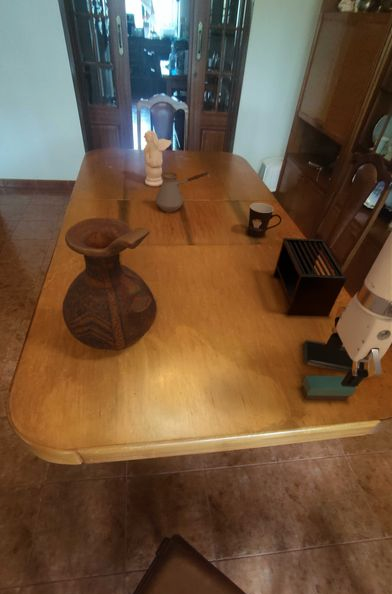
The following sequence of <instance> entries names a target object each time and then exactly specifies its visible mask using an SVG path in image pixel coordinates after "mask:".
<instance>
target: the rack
mask: <svg viewBox="0 0 392 594" xmlns="http://www.w3.org/2000/svg"><path fill="white" fill-rule="evenodd" d="M323 255H324V256H323ZM319 256H320V258H319ZM325 258H326V259H325ZM320 259H321V260H320ZM326 260H327V261H326ZM322 262H323V263H322ZM327 262H328V263H327ZM323 264H324V265H323ZM328 264H329V265H330V266H329V265H328ZM319 266H320V267H319ZM325 267H326V268H325ZM330 267H331V268H330ZM320 268H321V269H320ZM326 269H327V270H326ZM331 269H332V270H331ZM321 270H322V271H323V273H324V274H323V273H322V271H321ZM327 271H328V272H329V274H328V272H327ZM272 276H273V278H280V280H281V282H282V285H283V288H284V290H285V293H286V296H287V299H288V302H289V305H288V308H287V310H286V315H287V316H298V317H299V316H300V317H329V316H330V314H331V312H332V310H333V308H334V306H335V304H336V302H337V299H338V297H339V295H340V293H341V291H342V290H343V288H344V285H345V283H346V282H347V279H348V278H347V276H346V275H345V273H344V272H343V271H342V269H341V267H340V265H339V264H338V262H337V261H336V259H335V258H334V256H333V255H332V253H331V252H330V250H329V248H328V246H327V245H326V242H325V241H324V239H315V238H296V237H295V238H293V237H283V240H282V243H281V246H280V249H279V253H278V257H277V261H276V264H275V268H274V271H273V274H272Z"/></svg>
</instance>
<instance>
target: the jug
mask: <svg viewBox="0 0 392 594" xmlns="http://www.w3.org/2000/svg"><path fill="white" fill-rule="evenodd" d="M149 235H150V230H149V229H148V228H147V227H139V228H135V229H132V228H131V227H130V225H128V224H127V222H124V221H122V220H119V219H116V218H111V217H91V218H86V219H82V220H80V221H78V222H76V223H75V224H73V225H71V226H70V227H69V228H68V229H66V232H65V235H64V241H65V243H66V246H67V247H68V248H69V249H70V250H71V251H73V252H75V253H76V254H80V255H82V256H83V258H84V263H85V264H84V265H85V267H84V269H83V270H82V271H81V272H79V274H78V275H77V276H75V278H74V279H73V280H72V282H71V283H70V285H69V287H68V288H67V291H66V293H65V295H64V298H63V301H62V310H61V312H62V317H63V322H64V323H65V325H66V327H67V329H68V331H69V332H70V334H71V335H72V336H73V338H75V339H76V340H78V341H79V342H80V343H82V344H84V345H85V346H87V347H89V348H92V349H97V350H102V351H103V350H104V351H116V350H122V349H125V348H127V347H130V346H132V345H133V344H134V343H136V342H137V341H139V340H140V339H141V338H142V337H143V336H144V335H146V334H147V332H148V331H149V330H150V329H151V327H152V325H153V324H154V322H155V320H156V317H157V311H158V308H157V307H158V306H157V302H156V300H155V297H154V294H153V292H152V290H151V289H150V286H148V284H147V283H146V282H145V281H144V279H143V278H142V277H141V276H140V275H139V274H138V273H137V272H136V271H134V270H133V269H131V268H130V267H128V266H127V265H124V264H121V261H120V257H121V256H120V255H121V253H122V252H123V251H125V250H127V249H129V250H134V249H136V248H137V247H139V245H140V244H141V243H142V241H144V240H145V238H146V237H148V236H149Z"/></svg>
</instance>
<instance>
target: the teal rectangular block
mask: <svg viewBox="0 0 392 594" xmlns="http://www.w3.org/2000/svg"><path fill="white" fill-rule="evenodd" d="M345 376H346V375H315V374H314V375H310V374H309V375H305V377H304V379H303V380H302V387H301V391H302V394H303V397H304V400H305V401H347V400H348V399H349V397H352V396H353V395H354V393H355V392H356V391H357V387H345V386H342V385H341V382H342V381H343V379H344V378H345Z"/></svg>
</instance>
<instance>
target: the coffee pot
mask: <svg viewBox="0 0 392 594" xmlns="http://www.w3.org/2000/svg"><path fill="white" fill-rule="evenodd" d="M204 176H207V177H208V179H210V174H209V172H204V173H203V172H202V173H201V174H195V175H194V176H191V177H188V178H187V179H183V180H180V181H177V178H178V177H179V175H178V173H175V172H172V171H165V172H162V174H161V178H162V180H163V182H162V184H161V185H160V186H159V190H158V191H157V194H156V198H155V203H156V206H157V207H158V208H160V210H161V211H164V212H167V213H173V212H177V211H178V210H179V209H180V208H182V206H183V204H184V199H183V195H182V194H181V193H182V192H181V191H180V188H179V186H180V185H182V184H184V183H186V182H191V181H194V180H198V179H200V178H202V177H204Z"/></svg>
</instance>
